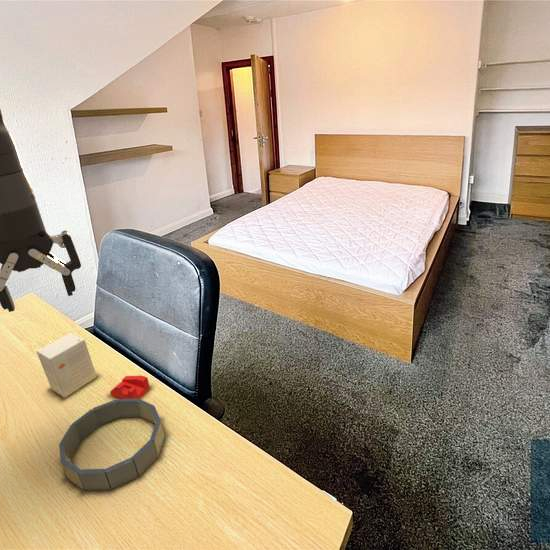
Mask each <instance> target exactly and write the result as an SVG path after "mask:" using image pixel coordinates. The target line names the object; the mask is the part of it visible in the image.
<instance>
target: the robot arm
mask: <svg viewBox="0 0 550 550" xmlns="http://www.w3.org/2000/svg"><path fill="white" fill-rule="evenodd" d="M30 182H31V181H30V180H29V178H28V176H27V174H26V171H25V169H24V166H23V163H22V160H21V157H20V154H19V151H18V148H17V146H16V143H15V141H14V138H13V136H12V134H11V133H10V131H9V130H8V128H7V126H6V123H5V120H4V117H3V114H2V110H1V109H0V264H1V266H0V306H1V308H2V309H3V310H8V312H9V313H11V312H15V309H16V307H15V303H14V300H13V298H12V295H11V292H10V290H9V287H8V285H6V284H7V282H8V280H9V279H10V276H11V274H12V272H17V273H21V272H25V271H27V270H29V269H39V268H41V267H42V266H43V265H45V266H47V267H49V268H50V269H51V270H55V271H56V272H58V273H60V274H61V278H62V281H63V284H64V287H65V290H66V295H67V296H68V297H72V296H74V293H73V292H76V283H75V281H74V278H73V275H72V273H74V271H75V270H79V269H80V268H81V267H82V264H81V260H80V258H79V255H78V253H77V249H76V246H75V244H74V241H73V239H72V236H71V234H70V233H71V232H69V230H63V231H61V233H59V234H56V235H52V236H51V235H50V234H49V233H48V232H47V230H46V226H45V224H44V221H43V218H42V215H41V212H40V209H39V206H38V202H37V199H36V196H35V194H34V190H33V188H32V184H31V183H30ZM54 244H56V245H58V246H59V247H60V248H61V249H65V250H66V252H67V255H68V258H69V261H68V262H65V261H64V260H62V259H60V258H59V257H58V256H57V255H55V254H54V253H52V252H51V250H52V248H53V247H54Z"/></svg>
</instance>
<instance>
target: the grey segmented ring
mask: <svg viewBox="0 0 550 550" xmlns="http://www.w3.org/2000/svg"><path fill="white" fill-rule="evenodd" d="M138 417H139V418H142V419H144V420H146V421H147V422H148V421H149V422H151V423H153V424H154V427H153V430H152V433H151V436H150V438H149V440H147V442H146V443H145V444H144V445H143V446H142V447H140V448H139V450H137V451H136V452H135V453H134V454H133V455H132V456H130V457H129V458H127V459H124V460H122V461H119V462H117V463H115V464H113V465H111V466H109V467H106V468H80V467H78V466H77V465H76V464H74V463H72V457H73V455H74V454H75V452H76V450H77V449H78V447H79V445H80V443H81V441H83V439H84V438H86V437H88V435H89V434H91V433H92V432H94V431H95V430H96V429H97V428H98V427H99V426H102V425H104V424H107V423H109V422H113V421H115V420H117V419H119V418H138ZM164 441H165V431H164V428H163V423H162V420H161V417H160V415H159V413H158V411H157V407H156V406H155V404H152V403H149V402H147V401H145V400H143V399H141V398H139V399H138V398H135V399H120V398H116V399H113V400H110V401H108V402H105V403H102V404H100V405H98V406H97V405H96V406H94V407H92V408H90V409H89V410H88V411H86V412H85V413H84V414H82V415H81V416H80V417H79V418H78V419H76V420H74V422H73V423H71V424H70V425H69V427H68V429H67V430H66V432H65V433H64V435H63V437H62V439H61V440H60V442H59V444H58V446H59V456H60V457H59V458H60V464H61V467H62V469H63V471H64V473H65V476H66V478H67V480H69V481H70V482H72V483H73V484H75V485H76V486H77V487H79V488H80V489H82V490H83V491H106V490H113V489H116V488H118V487H120V486H122V485H124V484H126V483H128V482H130V481H133V480H135V479H137V478H139V477H141V475H142V474H144V472H145V471H146V470H147V469H148V468H149V467H151V465H152V464H153V463H154V462H155V461H156V460H157V459H158V458H159V456H160V453H161V450H162V447H163V444H164Z"/></svg>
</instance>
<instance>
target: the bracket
mask: <svg viewBox="0 0 550 550" xmlns="http://www.w3.org/2000/svg"><path fill="white" fill-rule="evenodd" d="M150 389H151V387H150V383H149V379H148V377H147V376H144V375H125V376H124V377H123V378H122V379H121V381H120V382H119V383H118V384H117V385H116V386H115V387H113V388H112V389H111V390H109V391H110V392H109V393H110V396H111V397H115V398H116V399H135V398H138V399H141V398H142V397H143V396H144V395H145V394H146V393H148V391H149V390H150Z"/></svg>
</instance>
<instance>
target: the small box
mask: <svg viewBox="0 0 550 550" xmlns="http://www.w3.org/2000/svg"><path fill="white" fill-rule="evenodd" d="M85 340H86V339H84V338H82V337H81V336H78V335H76V334H75V333H72V332H69V333H67V334H65V335H63V336H62V337H60V338H58V339H56V340H54V341H52V342H50V343H48V344H46V345H45V346H43V347H41V348H39V349H36V354H37V357H38V359H39V362H40V365H41V367H42V370H43V373H44V374H45V377H46V379H47V381H48V385H49V386H50V389H51V390H52V391H54V392H55V393H57V394H58V395H60V396H61V397H62V398H65V399H66V398H67V397H68V396H70V395H72V394H74V393H75V392H76V391H78V390H80V389H81V388H82V387H84V386H86V385H87V384H88V383H90V382H92V381H93V380H95V379H97V372H96V369H95V367H94V363H93V361H92V358H91V355H90V352H89V349H88V345H87V343H86V341H85Z"/></svg>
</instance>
